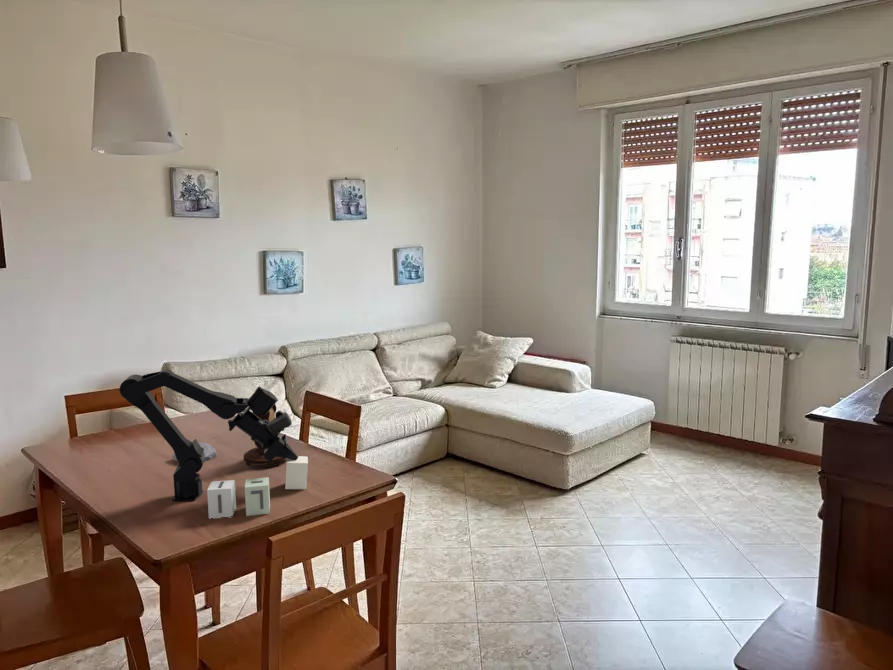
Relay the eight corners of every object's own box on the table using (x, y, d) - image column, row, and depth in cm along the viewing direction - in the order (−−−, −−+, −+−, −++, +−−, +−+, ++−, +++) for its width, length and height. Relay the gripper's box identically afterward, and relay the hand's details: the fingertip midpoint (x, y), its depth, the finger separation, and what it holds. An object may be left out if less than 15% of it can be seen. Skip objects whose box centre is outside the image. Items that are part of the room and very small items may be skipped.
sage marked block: (246, 516, 171) (244, 487, 169) (247, 507, 177) (245, 478, 175) (269, 514, 172) (268, 484, 171) (270, 504, 178) (268, 476, 177)
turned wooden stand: (281, 469, 205) (279, 408, 202) (236, 468, 206) (233, 407, 203) (295, 453, 220) (293, 397, 217) (253, 453, 221) (250, 396, 218)
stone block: (220, 462, 218) (203, 450, 223) (220, 449, 216) (203, 438, 222) (187, 473, 209) (171, 461, 214) (187, 460, 207) (171, 448, 213)
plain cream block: (285, 489, 188) (286, 462, 187) (285, 481, 193) (287, 456, 192) (306, 489, 189) (308, 463, 188) (305, 481, 195) (307, 456, 194)
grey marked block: (208, 519, 169) (206, 489, 168) (213, 509, 175) (211, 480, 174) (232, 517, 170) (230, 488, 169) (236, 508, 176) (234, 479, 175)
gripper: (272, 414, 177) (316, 447, 182) (273, 398, 195) (313, 428, 199) (245, 445, 177) (290, 477, 181) (249, 426, 195) (289, 456, 199)
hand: (297, 458), depth 190 cm, fingers closed, pressing on plain cream block
